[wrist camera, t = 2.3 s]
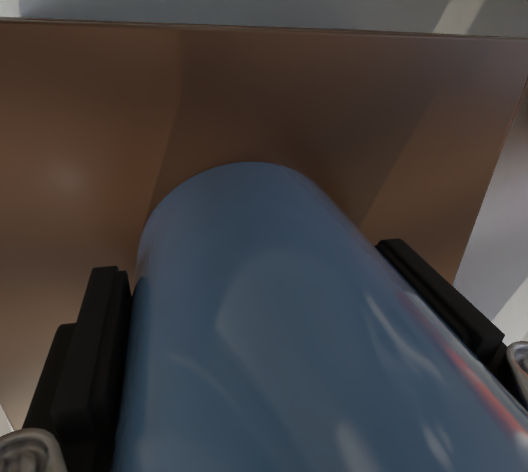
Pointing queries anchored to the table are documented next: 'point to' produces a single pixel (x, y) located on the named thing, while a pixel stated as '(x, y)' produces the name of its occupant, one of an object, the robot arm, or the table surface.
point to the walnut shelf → (227, 144)
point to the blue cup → (293, 345)
